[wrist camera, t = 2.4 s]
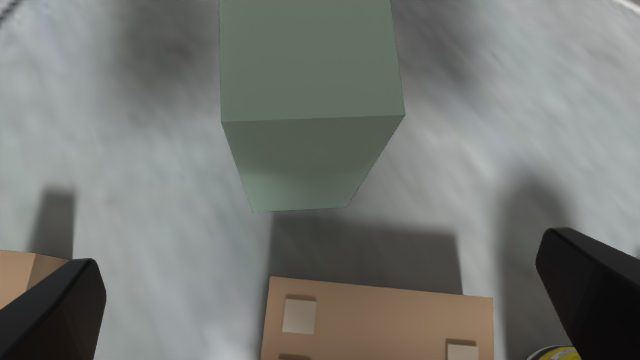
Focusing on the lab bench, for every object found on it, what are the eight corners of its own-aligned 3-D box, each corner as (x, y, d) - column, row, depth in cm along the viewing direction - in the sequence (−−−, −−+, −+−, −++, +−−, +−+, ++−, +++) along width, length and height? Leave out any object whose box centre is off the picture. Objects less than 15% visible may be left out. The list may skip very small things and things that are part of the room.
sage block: (346, 207, 22) (405, 114, 11) (253, 212, 21) (221, 122, 11) (338, 121, 23) (384, -37, 12) (249, 124, 22) (218, -36, 12)
